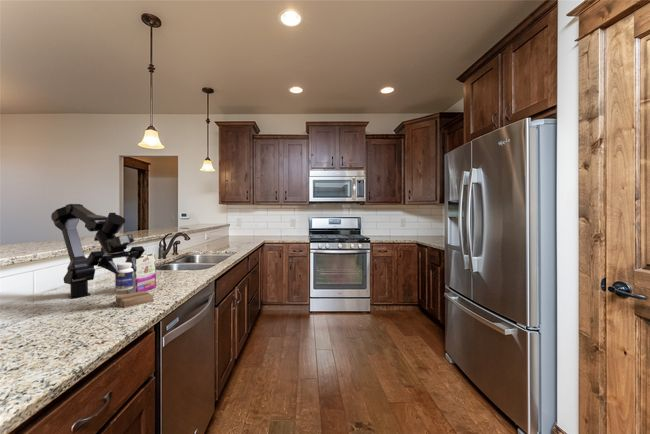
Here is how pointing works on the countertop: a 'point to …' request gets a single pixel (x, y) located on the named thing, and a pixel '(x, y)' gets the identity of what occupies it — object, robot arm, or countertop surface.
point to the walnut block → (134, 299)
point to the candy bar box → (144, 273)
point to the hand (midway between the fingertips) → (126, 272)
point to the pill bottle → (124, 277)
